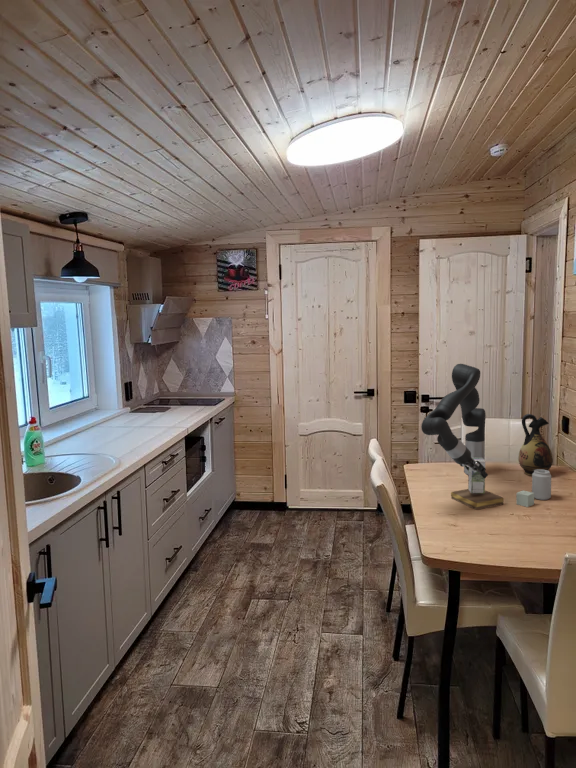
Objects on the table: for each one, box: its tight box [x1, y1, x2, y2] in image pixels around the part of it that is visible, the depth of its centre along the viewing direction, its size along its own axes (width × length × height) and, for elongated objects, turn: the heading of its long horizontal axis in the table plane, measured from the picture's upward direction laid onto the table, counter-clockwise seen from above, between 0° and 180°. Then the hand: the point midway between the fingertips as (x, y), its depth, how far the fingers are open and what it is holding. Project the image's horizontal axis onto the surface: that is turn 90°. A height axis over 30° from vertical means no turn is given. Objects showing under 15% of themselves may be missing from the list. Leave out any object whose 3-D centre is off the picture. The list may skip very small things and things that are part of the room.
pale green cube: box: [515, 489, 535, 508], centre depth 232 cm, size 5×5×5 cm
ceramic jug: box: [517, 413, 554, 477], centre depth 272 cm, size 17×15×30 cm
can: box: [531, 469, 552, 501], centre depth 239 cm, size 8×8×12 cm
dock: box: [450, 488, 504, 511], centre depth 237 cm, size 16×14×3 cm
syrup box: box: [467, 458, 486, 494], centre depth 236 cm, size 6×6×14 cm
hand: (479, 474), depth 237 cm, fingers closed on syrup box, 7 cm apart
